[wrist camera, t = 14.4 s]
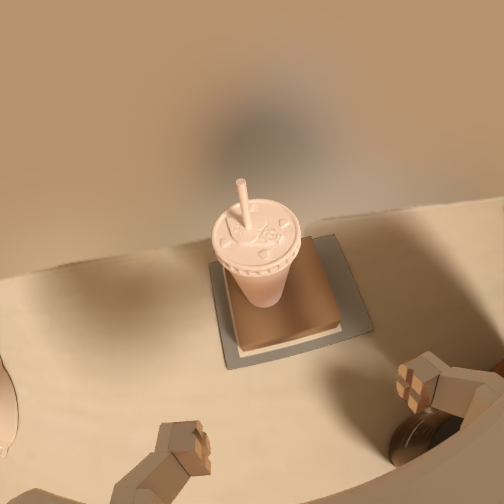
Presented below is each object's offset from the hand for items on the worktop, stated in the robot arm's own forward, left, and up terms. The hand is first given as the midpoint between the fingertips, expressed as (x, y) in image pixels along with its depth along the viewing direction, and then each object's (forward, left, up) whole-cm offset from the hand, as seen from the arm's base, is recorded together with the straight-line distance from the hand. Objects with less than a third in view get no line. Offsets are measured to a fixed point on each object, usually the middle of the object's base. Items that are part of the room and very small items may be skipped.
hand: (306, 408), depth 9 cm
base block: (+2, +12, -17) cm, 21 cm away
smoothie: (0, +12, -14) cm, 18 cm away
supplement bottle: (+12, -9, -18) cm, 23 cm away
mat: (+3, +12, -17) cm, 21 cm away
